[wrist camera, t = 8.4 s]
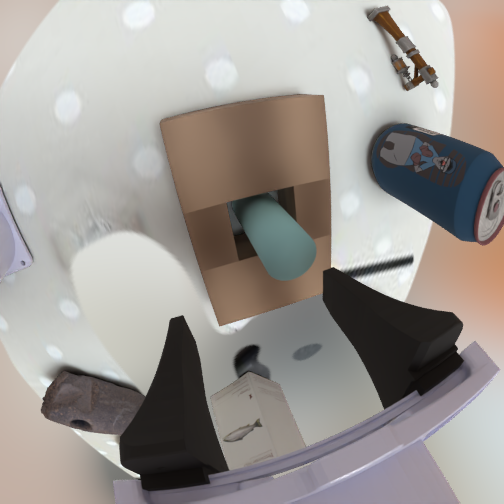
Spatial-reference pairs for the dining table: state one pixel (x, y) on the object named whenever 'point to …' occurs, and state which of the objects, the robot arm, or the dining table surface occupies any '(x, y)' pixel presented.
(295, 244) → the peg
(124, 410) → the perforated stone tool
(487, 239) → the soda can
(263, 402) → the supplement box
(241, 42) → the dining table surface
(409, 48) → the brown long banded part
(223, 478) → the robot arm
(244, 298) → the hole block
